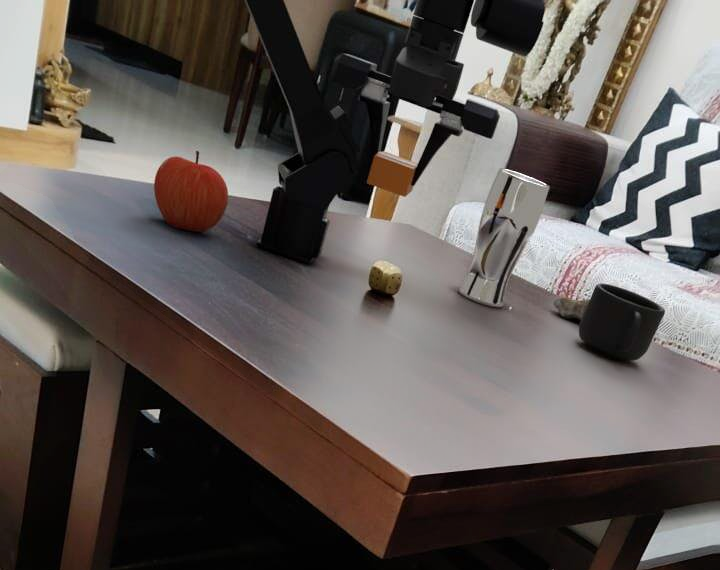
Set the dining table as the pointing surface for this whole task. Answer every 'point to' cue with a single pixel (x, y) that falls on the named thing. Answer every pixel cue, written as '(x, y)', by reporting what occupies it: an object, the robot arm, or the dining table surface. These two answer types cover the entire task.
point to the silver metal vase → (503, 235)
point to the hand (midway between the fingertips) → (392, 178)
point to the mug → (619, 323)
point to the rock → (571, 307)
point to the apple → (190, 194)
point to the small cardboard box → (392, 173)
